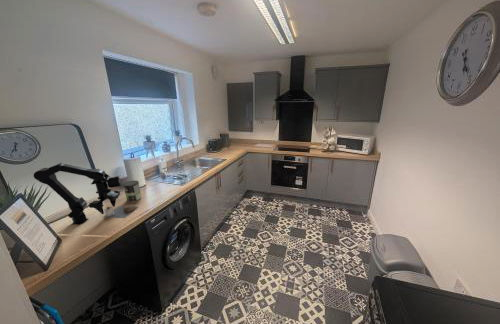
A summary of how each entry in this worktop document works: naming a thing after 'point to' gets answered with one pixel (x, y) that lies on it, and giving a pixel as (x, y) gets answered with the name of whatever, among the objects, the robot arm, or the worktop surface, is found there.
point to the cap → (109, 211)
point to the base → (129, 208)
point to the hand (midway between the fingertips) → (108, 210)
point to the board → (120, 213)
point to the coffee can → (132, 191)
